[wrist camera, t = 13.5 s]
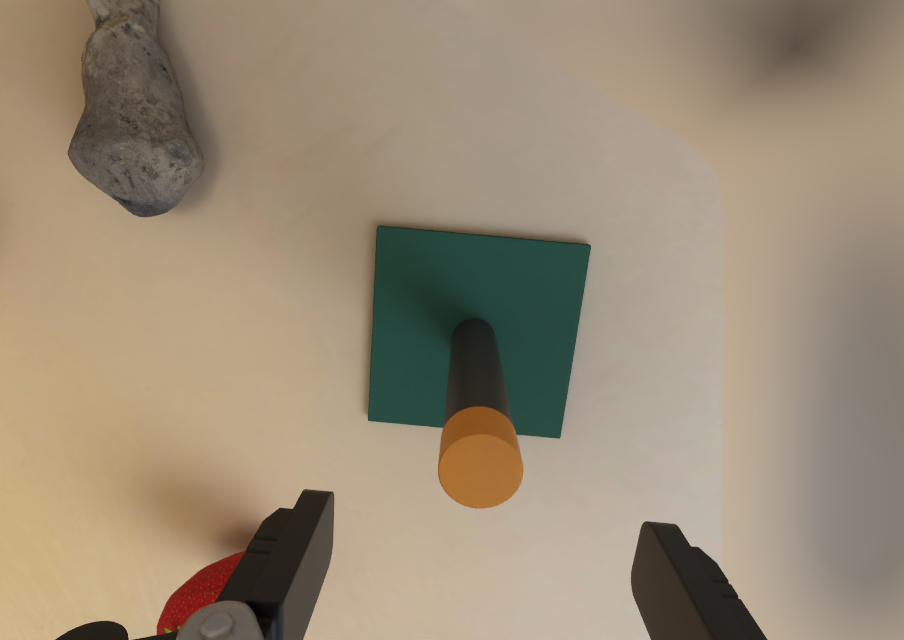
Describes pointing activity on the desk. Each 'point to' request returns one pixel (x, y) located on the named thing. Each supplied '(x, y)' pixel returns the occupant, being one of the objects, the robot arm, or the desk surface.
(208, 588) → the strawberry
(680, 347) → the desk surface
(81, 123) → the stone
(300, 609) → the robot arm
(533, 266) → the mat
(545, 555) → the desk surface
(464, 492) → the marker
